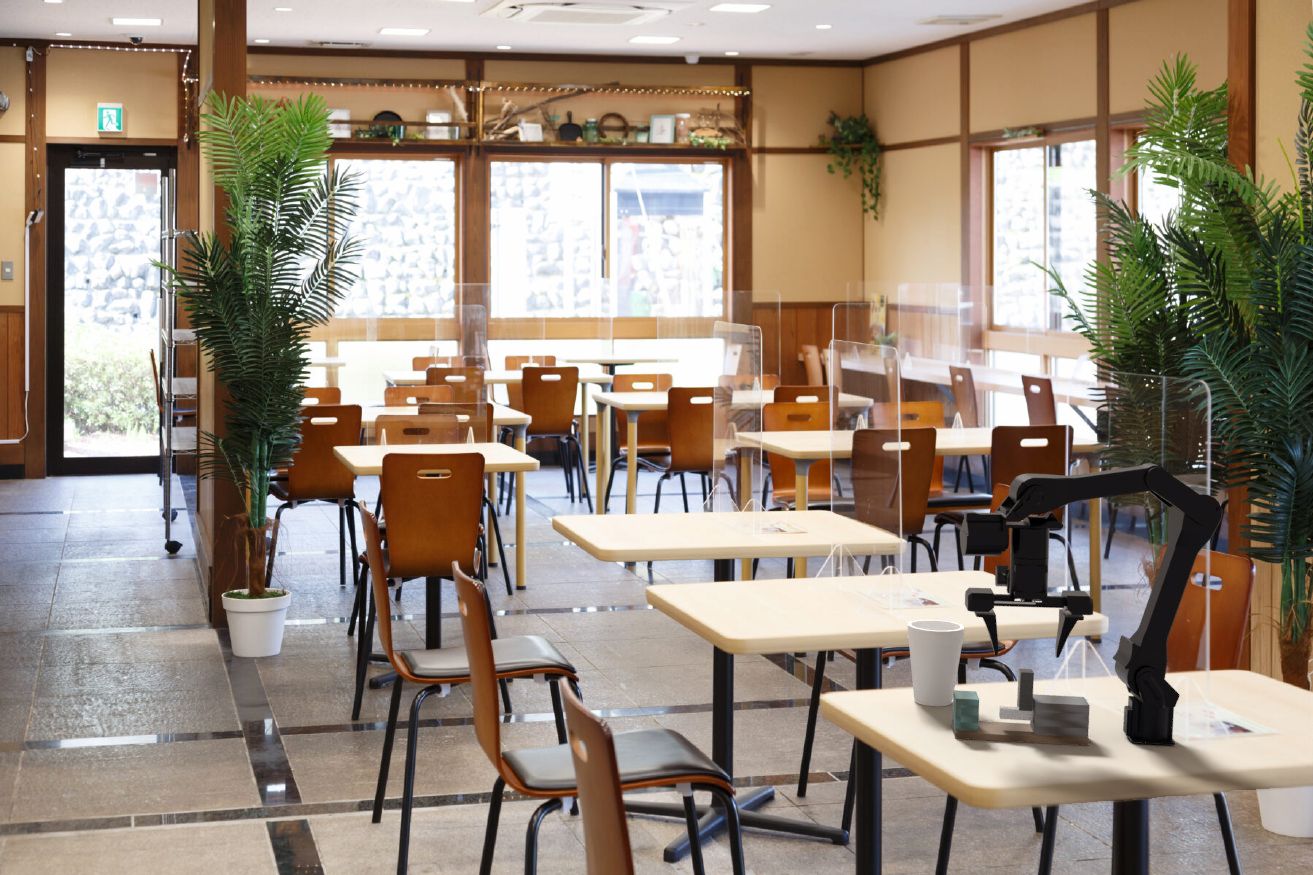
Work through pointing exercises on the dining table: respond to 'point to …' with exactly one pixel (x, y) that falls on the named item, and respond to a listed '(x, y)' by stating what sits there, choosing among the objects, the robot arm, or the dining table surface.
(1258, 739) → the dining table surface
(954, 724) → the wooden long base
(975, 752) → the dining table surface
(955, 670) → the foam cup
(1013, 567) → the robot arm
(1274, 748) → the dining table surface
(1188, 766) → the dining table surface
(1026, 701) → the angled grey metal bar
